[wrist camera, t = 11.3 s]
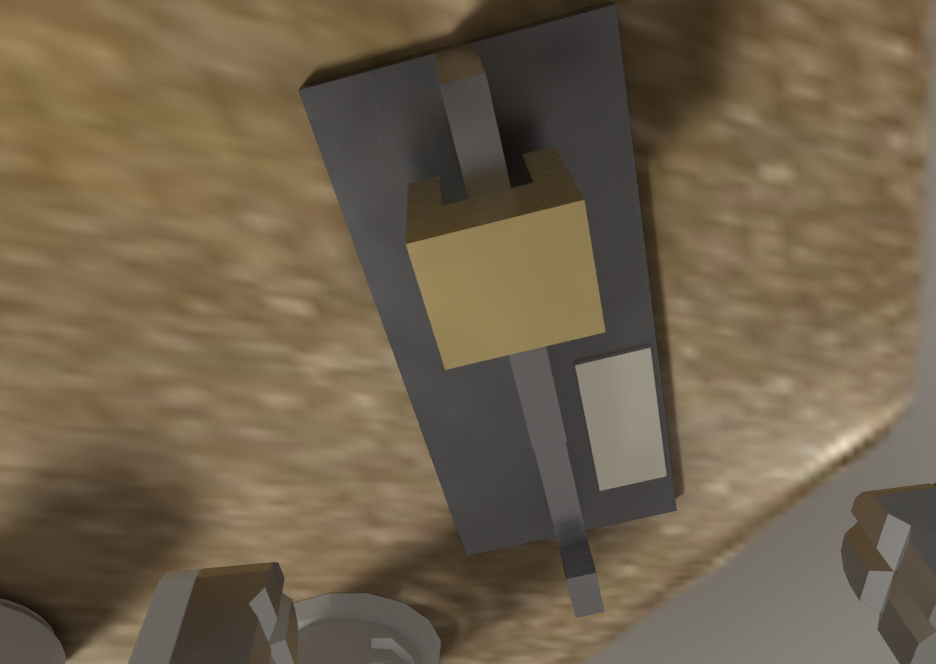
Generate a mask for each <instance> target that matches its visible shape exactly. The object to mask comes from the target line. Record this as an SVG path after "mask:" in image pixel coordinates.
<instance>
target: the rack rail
mask: <svg viewBox="0 0 936 664" xmlns="http://www.w3.org/2000/svg"><path fill="white" fill-rule="evenodd" d="M298 91H299V94H300V96H301V99H302V102H303V105H304V107H305V110H306V113H307V116H308V118H309V121H310V124H311V127H312V129H313V132H314V135H315V138H316V141H317V143H318V146H319V149H320V152H321V154H322V157H323V160H324V163H325V165H326V168H327V171H328V174H329V176H330V179H331V182H332V185H333V188H334V190H335V193H336V196H337V199H338V201H339V204H340V207H341V210H342V212H343V215H344V218H345V221H346V223H347V226H348V229H349V232H350V235H351V237H352V240H353V243H354V246H355V248H356V251H357V254H358V257H359V259H360V262H361V265H362V268H363V271H364V273H365V276H366V279H367V282H368V284H369V287H370V290H371V293H372V295H373V298H374V301H375V304H376V306H377V309H378V312H379V315H380V318H381V320H382V323H383V326H384V329H385V331H386V334H387V337H388V340H389V342H390V345H391V348H392V351H393V353H394V356H395V359H396V362H397V365H398V367H399V370H400V373H401V376H402V378H403V381H404V384H405V387H406V389H407V392H408V395H409V398H410V400H411V403H412V406H413V409H414V412H415V414H416V417H417V420H418V423H419V425H420V428H421V431H422V434H423V436H424V439H425V442H426V445H427V448H428V450H429V453H430V456H431V459H432V461H433V464H434V467H435V470H436V472H437V475H438V478H439V481H440V483H441V486H442V489H443V492H444V495H445V497H446V500H447V503H448V506H449V508H450V511H451V514H452V517H453V519H454V522H455V525H456V528H457V530H458V533H459V536H460V539H461V542H462V544H463V547H464V550H465V553H466V555H467V556H469V555H474V554H479V553H483V552H488V551H492V550H497V549H502V548H506V547H511V546H516V545H520V544H525V543H529V542H534V541H539V540H543V539H548V538H552V537H557V541H558V545H559V549H560V553H561V558H562V562H563V567H564V571H565V576H566V580H567V584H568V588H569V592H570V596H571V600H572V604H573V608H574V611H575V615H576V618H577V617H582V616H587V615H592V614H596V613H601V612H605V611H604V607H603V602H602V598H601V593H600V589H599V584H598V580H597V575H596V571H595V567H594V564H593V560H592V556H591V552H590V549H589V545H588V541H587V536H586V532H585V530H589V529H594V528H598V527H603V526H608V525H612V524H617V523H621V522H626V521H631V520H635V519H640V518H644V517H649V516H654V515H658V514H663V513H667V512H672V511H677V509H676V501H675V493H674V484H673V476H672V468H671V459H670V451H669V443H668V434H667V426H666V418H665V409H664V401H663V393H662V384H661V376H660V368H659V359H658V351H657V342H656V334H655V326H654V317H653V309H652V301H651V292H650V284H649V276H648V267H647V259H646V251H645V242H644V234H643V226H642V217H641V209H640V201H639V192H638V184H637V176H636V167H635V159H634V151H633V142H632V134H631V126H630V117H629V109H628V100H627V92H626V84H625V75H624V67H623V59H622V50H621V42H620V34H619V25H618V17H617V9H616V4H615V3H613V2H609V3H605V4H601V5H598V6H594V7H590V8H587V9H583V10H579V11H576V12H572V13H568V14H565V15H561V16H557V17H553V18H550V19H546V20H542V21H539V22H535V23H531V24H528V25H524V26H520V27H517V28H513V29H509V30H506V31H502V32H498V33H495V34H491V35H487V36H484V37H480V38H476V39H472V40H469V41H465V42H461V43H458V44H454V45H450V46H447V47H443V48H439V49H436V50H432V51H428V52H425V53H421V54H417V55H414V56H410V57H406V58H403V59H399V60H395V61H391V62H388V63H384V64H380V65H377V66H373V67H369V68H366V69H362V70H358V71H355V72H351V73H347V74H344V75H340V76H336V77H333V78H329V79H325V80H322V81H318V82H314V83H310V84H307V85H303V86H301V87H300V89H299V90H298ZM553 146H554V147H555V149H556V150H557V152H558V154H559V156H560V157H561V159H562V161H563V163H564V165H565V166H566V168H567V170H568V172H569V173H570V175H571V177H572V179H573V181H574V182H575V184H576V186H577V188H578V189H579V191H580V193H581V195H582V197H583V198H584V201H585V207H586V213H587V220H588V226H589V232H590V238H591V245H592V251H593V257H594V263H595V269H596V276H597V282H598V288H599V294H600V301H601V307H602V313H603V319H604V326H605V333H600V334H596V335H592V336H588V337H583V338H579V339H575V340H571V341H566V342H562V343H558V344H553V345H549V346H545V347H541V348H536V349H532V350H528V351H524V352H519V353H515V354H511V355H507V356H502V357H498V358H494V359H490V360H485V361H481V362H477V363H472V364H468V365H464V366H460V367H455V368H451V369H447V370H445V367H444V364H443V361H442V358H441V355H440V352H439V348H438V345H437V342H436V339H435V336H434V333H433V329H432V326H431V323H430V320H429V317H428V313H427V310H426V307H425V304H424V301H423V298H422V294H421V291H420V288H419V285H418V282H417V279H416V275H415V272H414V269H413V266H412V263H411V259H410V256H409V253H408V250H407V247H406V220H407V189H408V183H412V182H416V181H420V180H424V179H428V178H432V177H436V176H439V177H440V181H441V184H442V188H443V192H444V195H445V199H446V203H447V204H450V203H454V202H458V201H462V200H466V199H470V198H474V197H478V196H482V195H486V194H490V193H494V192H498V191H502V190H505V189H509V188H513V187H517V186H521V185H525V184H528V182H527V177H526V172H525V167H524V162H523V157H522V154H526V153H530V152H534V151H538V150H542V149H546V148H549V147H553Z"/></svg>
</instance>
